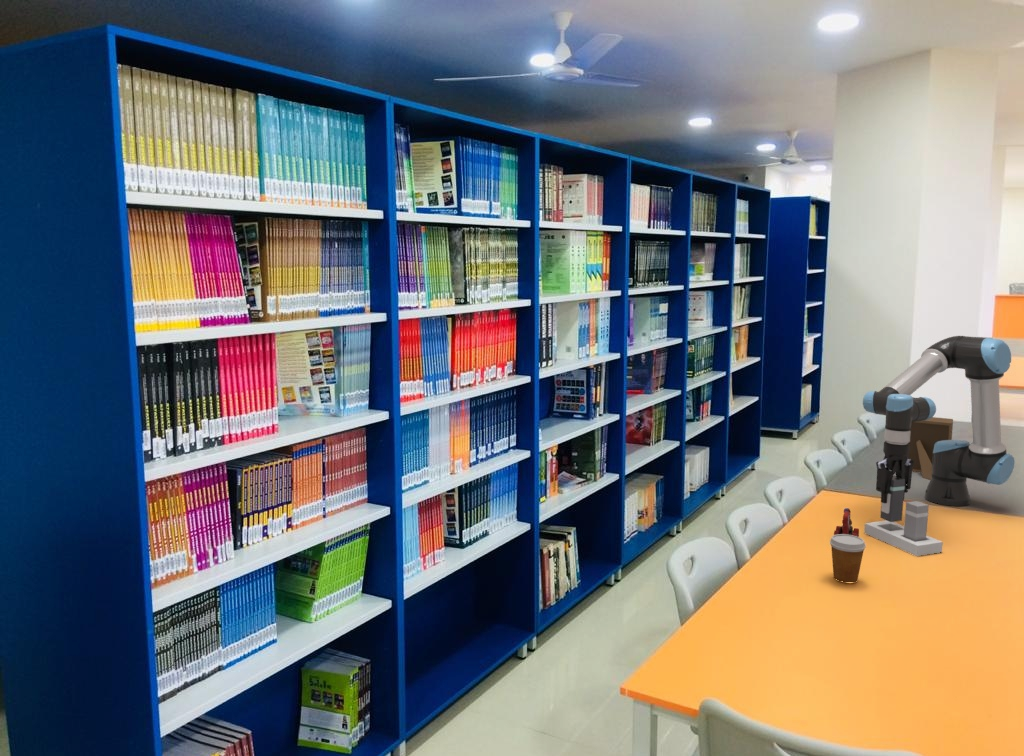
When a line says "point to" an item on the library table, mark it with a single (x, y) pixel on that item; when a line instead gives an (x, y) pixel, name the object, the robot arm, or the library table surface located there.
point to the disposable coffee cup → (846, 556)
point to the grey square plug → (916, 521)
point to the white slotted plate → (902, 538)
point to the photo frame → (927, 442)
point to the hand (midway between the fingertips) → (891, 511)
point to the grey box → (895, 500)
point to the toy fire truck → (846, 525)
